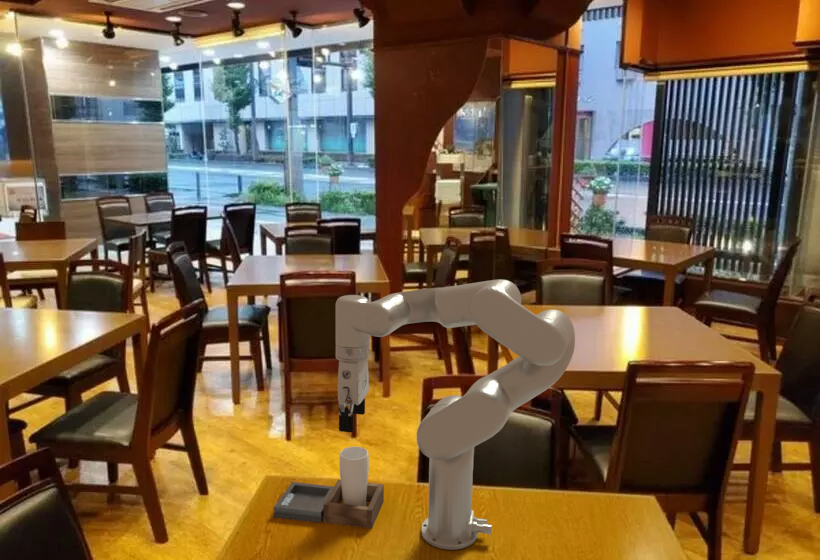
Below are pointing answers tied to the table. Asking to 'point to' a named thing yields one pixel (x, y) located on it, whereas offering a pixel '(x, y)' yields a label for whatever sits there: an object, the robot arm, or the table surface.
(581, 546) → the table surface
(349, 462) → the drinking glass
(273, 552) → the table surface
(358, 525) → the frame
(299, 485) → the metal cradle
